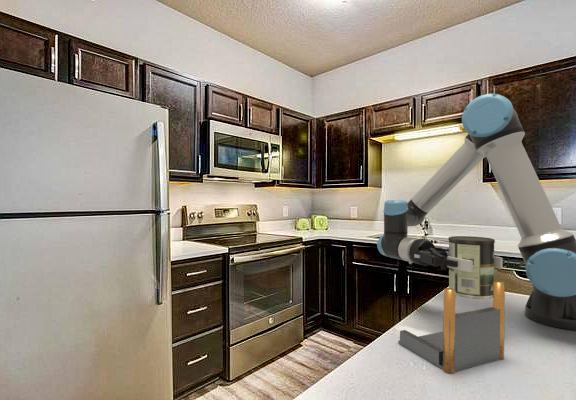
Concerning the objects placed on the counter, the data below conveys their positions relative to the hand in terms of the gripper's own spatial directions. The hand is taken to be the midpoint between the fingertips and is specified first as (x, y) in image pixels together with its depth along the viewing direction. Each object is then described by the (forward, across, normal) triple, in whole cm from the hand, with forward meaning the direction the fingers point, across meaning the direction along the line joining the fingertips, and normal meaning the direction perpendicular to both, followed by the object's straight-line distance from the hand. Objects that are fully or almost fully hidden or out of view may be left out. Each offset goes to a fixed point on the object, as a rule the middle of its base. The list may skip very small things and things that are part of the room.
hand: (486, 264), depth 78 cm
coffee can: (-4, 0, -8) cm, 9 cm away
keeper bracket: (+1, +14, -18) cm, 23 cm away
